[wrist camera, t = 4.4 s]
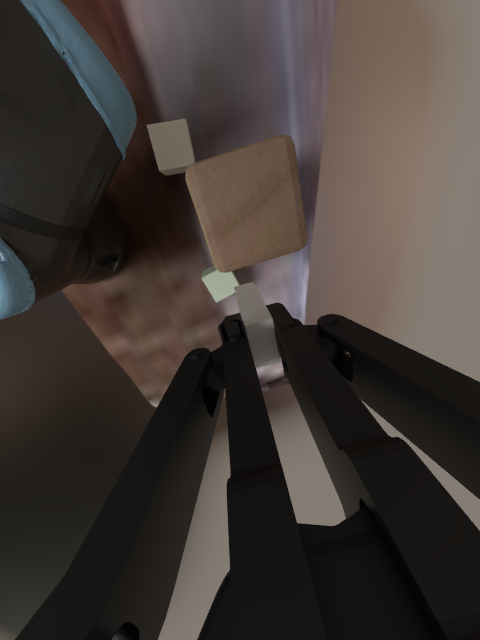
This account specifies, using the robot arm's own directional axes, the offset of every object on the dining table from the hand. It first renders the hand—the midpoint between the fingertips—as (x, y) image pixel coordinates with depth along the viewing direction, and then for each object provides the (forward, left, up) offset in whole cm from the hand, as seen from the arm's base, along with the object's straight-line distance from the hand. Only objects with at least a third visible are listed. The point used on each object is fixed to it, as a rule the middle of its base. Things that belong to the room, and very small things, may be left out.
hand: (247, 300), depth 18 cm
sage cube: (-3, -4, -27) cm, 27 cm away
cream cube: (-3, +16, -27) cm, 31 cm away
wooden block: (+3, +6, -27) cm, 27 cm away
